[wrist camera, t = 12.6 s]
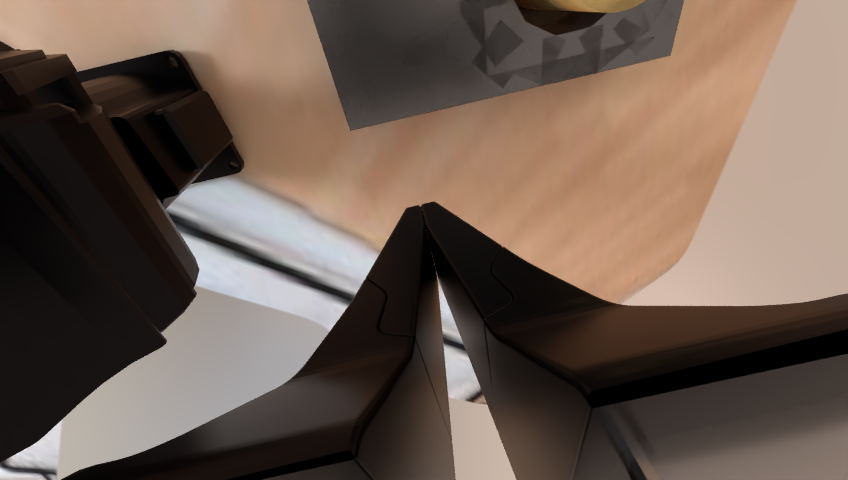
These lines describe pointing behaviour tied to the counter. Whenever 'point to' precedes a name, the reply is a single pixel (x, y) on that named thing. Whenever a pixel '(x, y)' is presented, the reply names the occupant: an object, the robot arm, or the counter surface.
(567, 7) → the bushing
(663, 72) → the counter surface
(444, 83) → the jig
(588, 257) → the counter surface
